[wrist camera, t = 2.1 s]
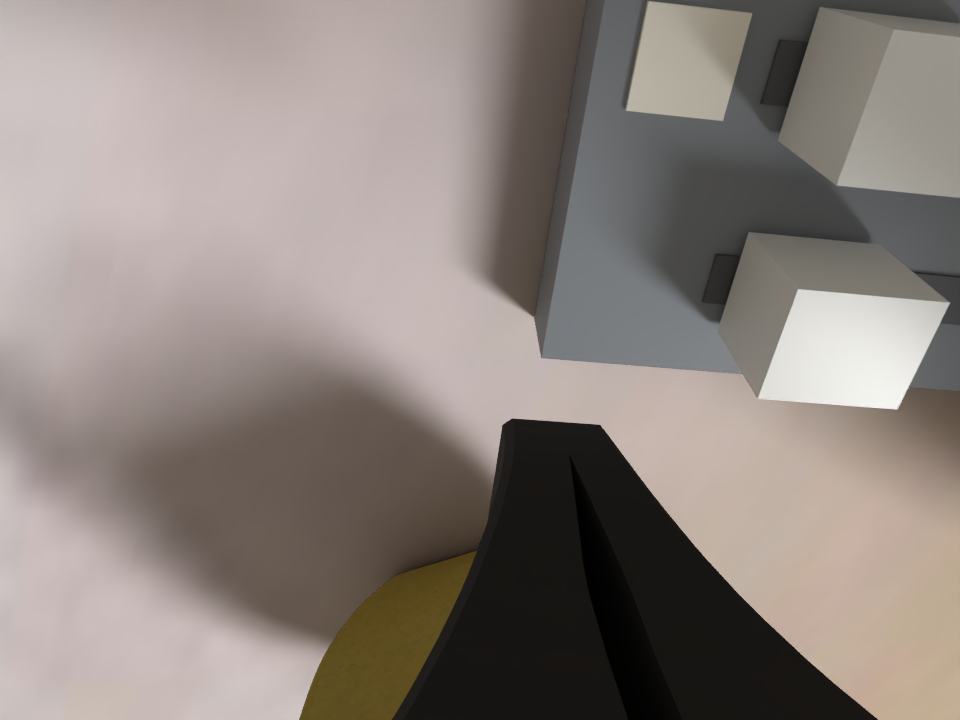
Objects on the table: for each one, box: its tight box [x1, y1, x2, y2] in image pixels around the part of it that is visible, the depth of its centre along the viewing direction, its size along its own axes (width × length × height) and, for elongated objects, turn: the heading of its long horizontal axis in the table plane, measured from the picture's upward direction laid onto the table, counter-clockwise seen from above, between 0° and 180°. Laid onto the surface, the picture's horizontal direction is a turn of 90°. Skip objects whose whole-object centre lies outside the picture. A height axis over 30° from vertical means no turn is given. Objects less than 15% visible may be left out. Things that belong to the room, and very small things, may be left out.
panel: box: [534, 0, 960, 391], centre depth 16 cm, size 16×14×2 cm
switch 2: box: [718, 232, 950, 410], centre depth 16 cm, size 3×2×3 cm
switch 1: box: [778, 7, 960, 198], centre depth 14 cm, size 3×2×3 cm
